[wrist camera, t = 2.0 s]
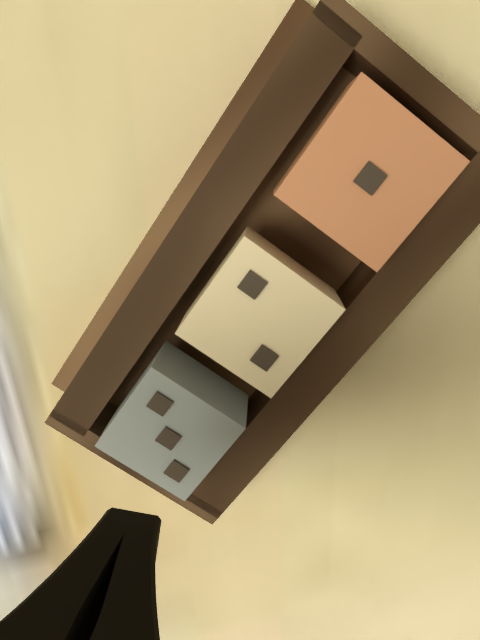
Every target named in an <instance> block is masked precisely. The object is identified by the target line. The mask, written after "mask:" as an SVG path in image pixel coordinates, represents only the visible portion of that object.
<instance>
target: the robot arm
mask: <svg viewBox="0 0 480 640" xmlns="http://www.w3.org/2000/svg"><path fill="white" fill-rule="evenodd" d="M160 526H161V519H160V518H159V517H158V516H156V515H150V514H145V513H139V512H133V511H128V510H122V509H116V508H111V509H109V510H107V511H106V513H105V514H104V515H103V517H102V518H101V519H100V521H99V522H98V523H97V524H96V526H95V527H94V528H93V529H92V530H91V532H90V533H89V534H88V535H87V536H86V537H85V539H84V540H83V541H82V542H81V543H80V544H79V545H78V546H77V548H76V549H75V550H74V551H73V552H72V553H71V554H70V555H69V556H68V557H67V558H66V559H65V560H64V561H63V562H62V564H61V565H60V566H59V567H58V568H57V569H56V570H55V571H54V572H53V573H52V574H51V575H50V576H49V577H48V578H47V579H46V580H45V581H44V582H43V583H42V584H41V585H40V586H38V587H37V588H36V589H35V590H34V591H33V592H32V593H31V594H30V595H29V596H28V597H27V598H26V599H25V600H24V601H23V602H22V603H21V604H19V605H18V606H17V607H16V608H15V609H14V610H13V611H12V612H10V613H9V614H8V615H7V616H6V617H5V618H4V619H2V620H1V621H0V640H160V637H159V628H158V618H157V606H156V585H155V561H156V554H157V547H158V540H159V533H160Z"/></svg>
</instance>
